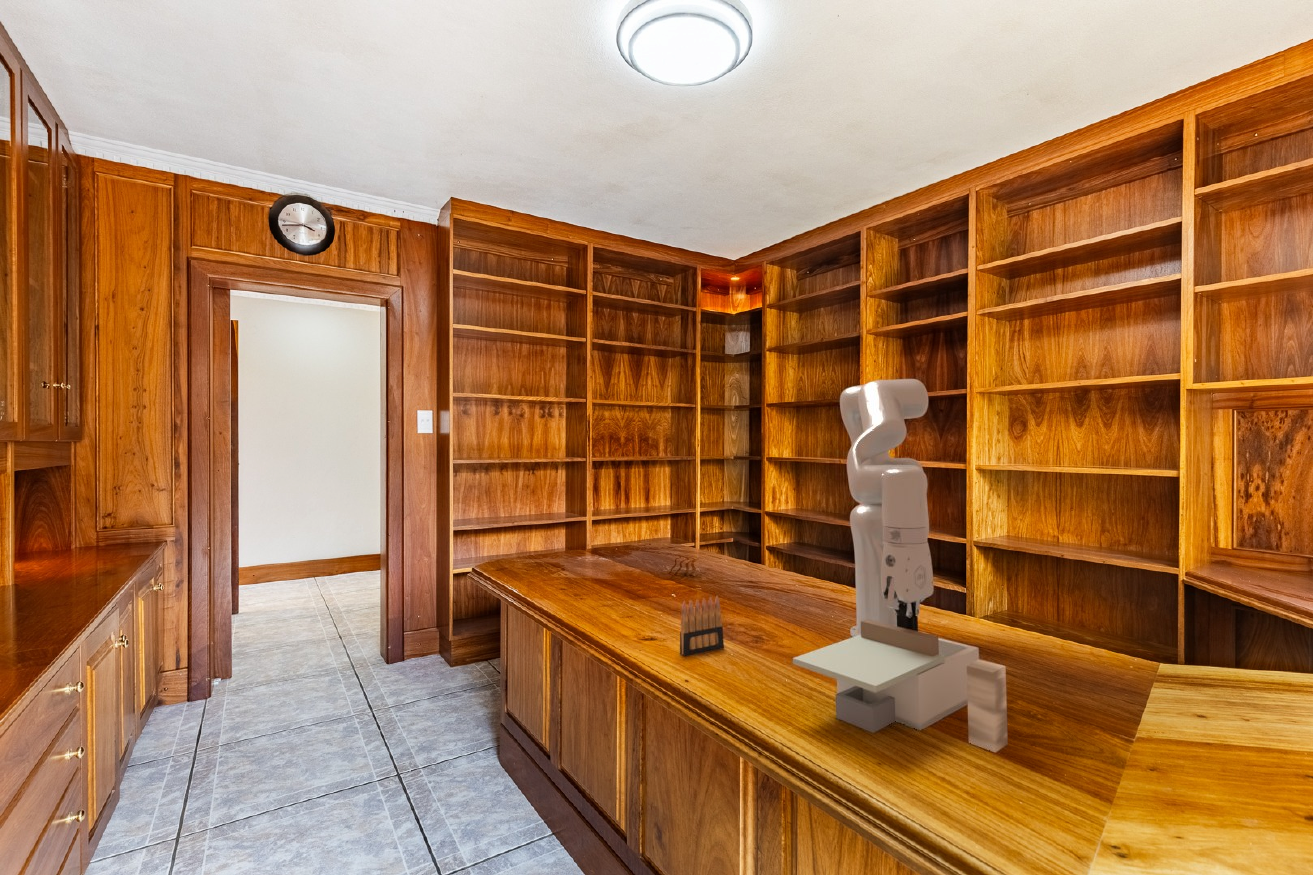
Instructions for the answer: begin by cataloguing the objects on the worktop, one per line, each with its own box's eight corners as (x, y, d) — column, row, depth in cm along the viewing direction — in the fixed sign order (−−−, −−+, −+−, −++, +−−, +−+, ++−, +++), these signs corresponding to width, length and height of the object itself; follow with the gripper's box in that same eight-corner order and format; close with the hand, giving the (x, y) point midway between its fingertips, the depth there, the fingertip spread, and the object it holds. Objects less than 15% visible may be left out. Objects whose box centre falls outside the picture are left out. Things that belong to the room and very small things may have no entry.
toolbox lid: (862, 638, 119) (862, 617, 119) (944, 661, 107) (944, 637, 107) (793, 663, 107) (792, 640, 107) (875, 692, 94) (875, 665, 94)
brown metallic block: (981, 734, 100) (979, 659, 100) (1007, 744, 97) (1005, 666, 97) (968, 742, 97) (966, 665, 97) (995, 752, 94) (993, 672, 94)
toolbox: (899, 672, 126) (898, 627, 126) (979, 697, 114) (978, 647, 114) (815, 709, 111) (813, 658, 111) (898, 742, 98) (896, 685, 98)
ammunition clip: (683, 656, 139) (682, 602, 139) (679, 654, 141) (678, 600, 141) (724, 648, 144) (722, 595, 144) (719, 645, 146) (718, 594, 146)
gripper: (900, 543, 107) (903, 651, 107) (946, 533, 116) (948, 633, 116) (862, 538, 113) (865, 640, 112) (908, 529, 122) (910, 624, 122)
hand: (907, 636), depth 114 cm, fingers closed
